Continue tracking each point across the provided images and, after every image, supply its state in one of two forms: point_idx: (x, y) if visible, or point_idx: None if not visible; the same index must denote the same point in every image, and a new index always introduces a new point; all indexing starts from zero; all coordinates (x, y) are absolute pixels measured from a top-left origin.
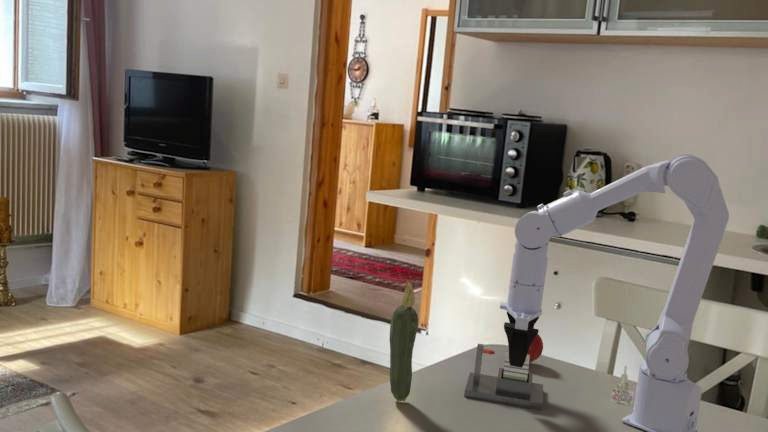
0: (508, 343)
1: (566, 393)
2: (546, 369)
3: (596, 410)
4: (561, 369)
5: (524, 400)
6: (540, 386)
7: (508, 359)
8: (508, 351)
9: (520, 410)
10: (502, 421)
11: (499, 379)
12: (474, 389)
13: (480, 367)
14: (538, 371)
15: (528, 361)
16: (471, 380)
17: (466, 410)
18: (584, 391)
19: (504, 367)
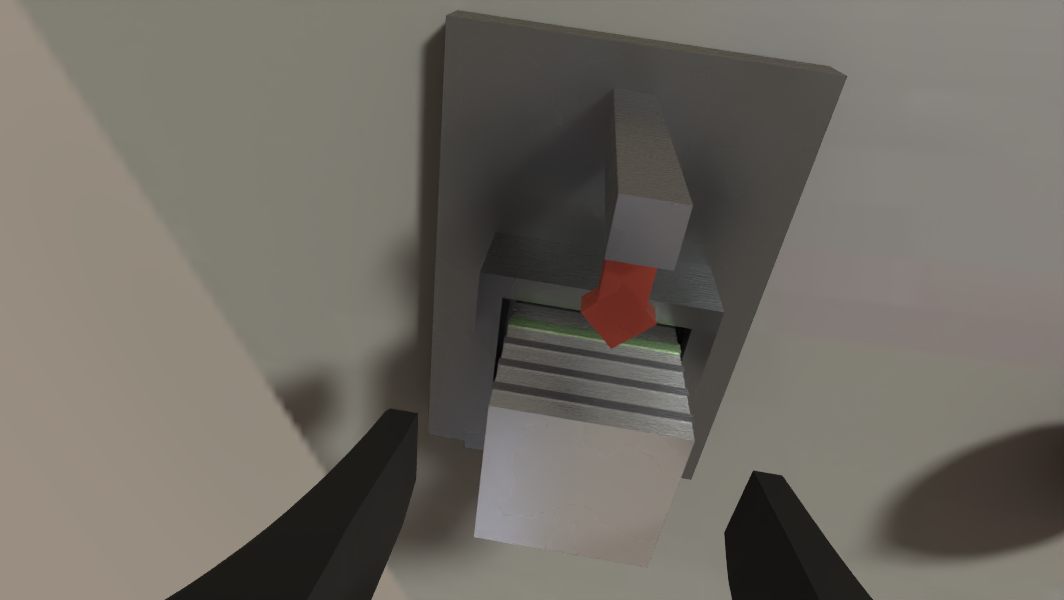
0: (245, 545)
1: (680, 532)
2: (1023, 525)
3: (521, 580)
4: (1020, 581)
5: (432, 363)
6: None
7: (490, 420)
8: (687, 451)
9: (390, 322)
10: (205, 221)
11: (479, 284)
12: (479, 92)
13: (605, 169)
14: (991, 487)
15: (484, 534)
16: (657, 78)
17: (237, 20)
18: (721, 592)
19: (502, 356)
